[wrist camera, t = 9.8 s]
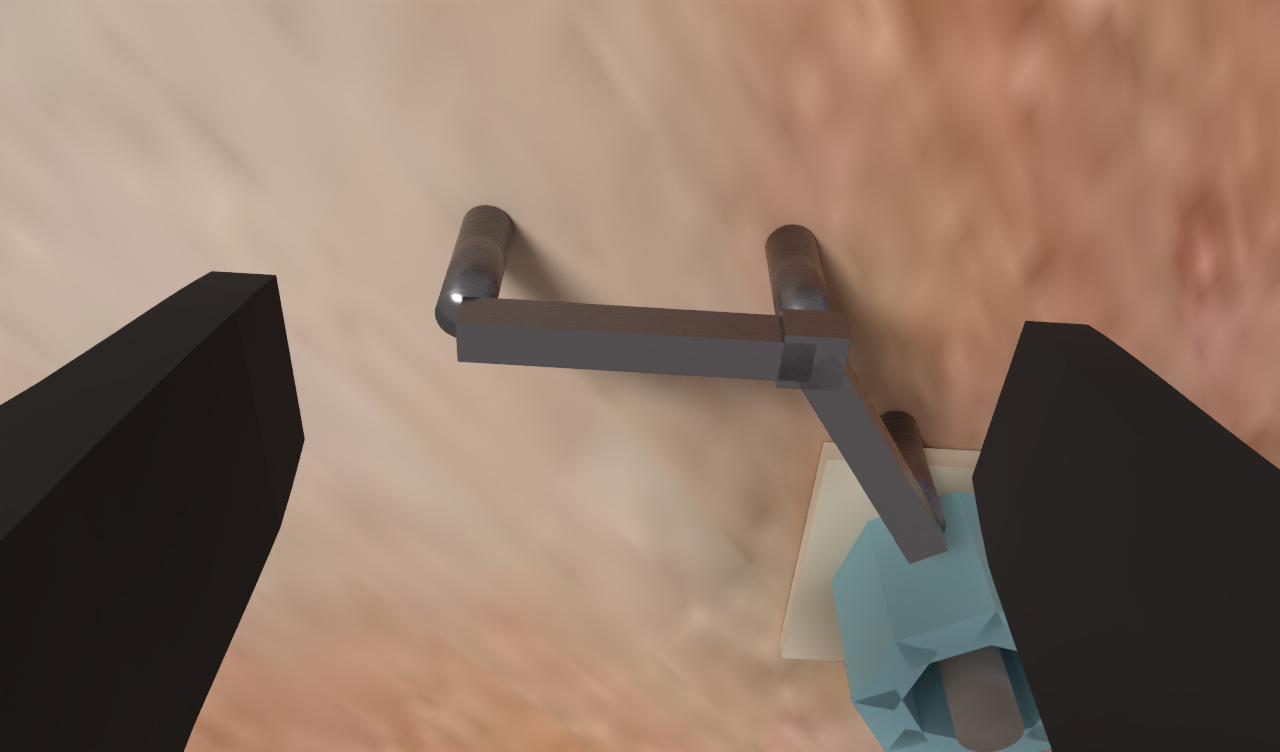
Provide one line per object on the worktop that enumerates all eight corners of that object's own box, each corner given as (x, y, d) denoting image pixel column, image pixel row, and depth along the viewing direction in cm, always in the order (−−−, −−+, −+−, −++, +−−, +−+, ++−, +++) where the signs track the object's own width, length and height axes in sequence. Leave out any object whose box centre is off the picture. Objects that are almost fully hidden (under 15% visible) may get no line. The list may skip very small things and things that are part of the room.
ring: (1024, 467, 23) (1073, 587, 21) (1081, 605, 26) (1132, 727, 23) (807, 542, 25) (825, 663, 22) (883, 664, 28) (908, 786, 25)
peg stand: (1127, 459, 24) (1219, 634, 20) (1038, 653, 28) (1100, 829, 24) (824, 441, 24) (855, 614, 20) (779, 639, 28) (799, 814, 24)
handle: (972, 233, 20) (1028, 349, 17) (910, 447, 24) (948, 576, 21) (461, 201, 20) (424, 313, 17) (471, 421, 24) (442, 548, 20)
